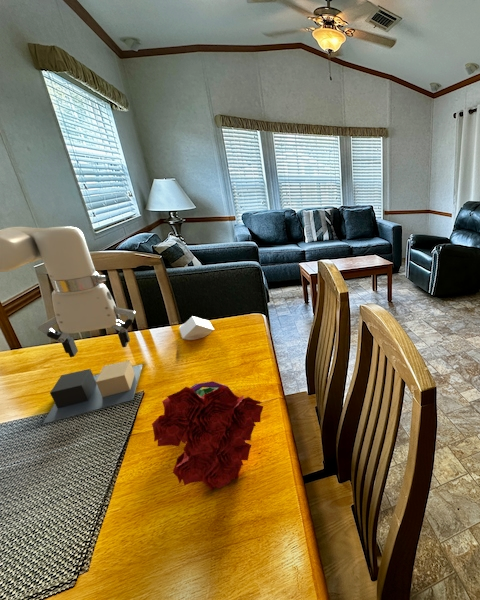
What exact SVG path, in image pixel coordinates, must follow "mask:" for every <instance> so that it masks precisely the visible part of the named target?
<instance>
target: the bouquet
mask: <svg viewBox="0 0 480 600" xmlns="http://www.w3.org/2000/svg"><path fill="white" fill-rule="evenodd" d="M166 397H167V398H165V399H163V400H162V402H161V403H162V406H163V414H161V415H158V417H157V418H155V420H154V421H153V422H152V423H151V426H152V431H153V442H154V443H155V442H157V447H168V446H173V447H180V445H181V443H183V444H185V445H184V447H183V452H182V453H181V454H180V455H178V457H177V458H176V462H175V464H174V467H173V468H172V469H173V470H172V474H173V475H174V476H175V477H177V481H178V483H179V484H181V482H182V483H183V486H187V485H190V484H195V483H199V482H201V483H203V484H204V485H205V486H207V487H208V489H209V490H210V491H212V490H213V488H214V489H215V488H217V489H221V488H222V487H224V486H226V485H229V484H230V483H231V482H232V480H234V481H235V480H236V478H239V476H240V475H239V474H240V471H241V468H242V466H244V462H243V461H249V457H250V452H251V448H252V444H250V443H248V442H251V441H252V434H253V431H254V428H255V427H256V425H257V424H256V423H261V416H262V413H263V409H264V406H263V405H260V404H261V403H262V402H263V401H259V400H256V399H253V398H252V397H250V396H247V397H245V395H242V396H240V397H239V396H238V395H236V394H235V393H234V392H233V391H232V390H231V388H230V387H229V386H228V385H225V384H222V383H219V382H217V381H213V380H212V381H206V382H201V383H195V384H193V385H192V386H190V387H188V386H185V387H183V388H181V389H180V390H179V391H177V392H174V393H171V394H169V395H167V396H166Z"/></svg>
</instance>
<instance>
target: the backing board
mask: <svg viewBox="0 0 480 600" xmlns="http://www.w3.org/2000/svg"><path fill="white" fill-rule="evenodd" d="M143 365H144V364H142V363H141V364H137V365H134V366H133V365H132V367H133V370H134V373H135V376H134V379H133V382H132V386H131V389H130V390H128V391H125V392H121V393H117V394H113V395H109V396H105V397H102V395H101V393H100V391H99V388H98V386H97V384H96V385H95V387H94V389H93V392H92V394H91V396H90V398H89V400H88V401H85V402H81V403H77V404H73V405H69V406H65V407H61V408H57V406H56V404H55V403H53V405H52V407H51V408H50V410H49V412H48V413H47V415H46V416H45V418H44V420H43V422H42V424H41V425H43V424H44V425H45V424H48V423H51V422H56V421H60V420H63V419H66V418H70V417H74V416H78V415H82V414H86V413H90V412H93V411H97V410H101V409H104V408H108V407H112V406H115V405H119V404H123V403H126V402H130V401H133V400H134V399H135V398H134V397H135V394H136V391H137V387H138V383H139V380H140V376H141V372H142V370H143ZM99 374H100V373H98V374H93V376H94V379H95V381H97V379H98V377H99Z"/></svg>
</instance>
